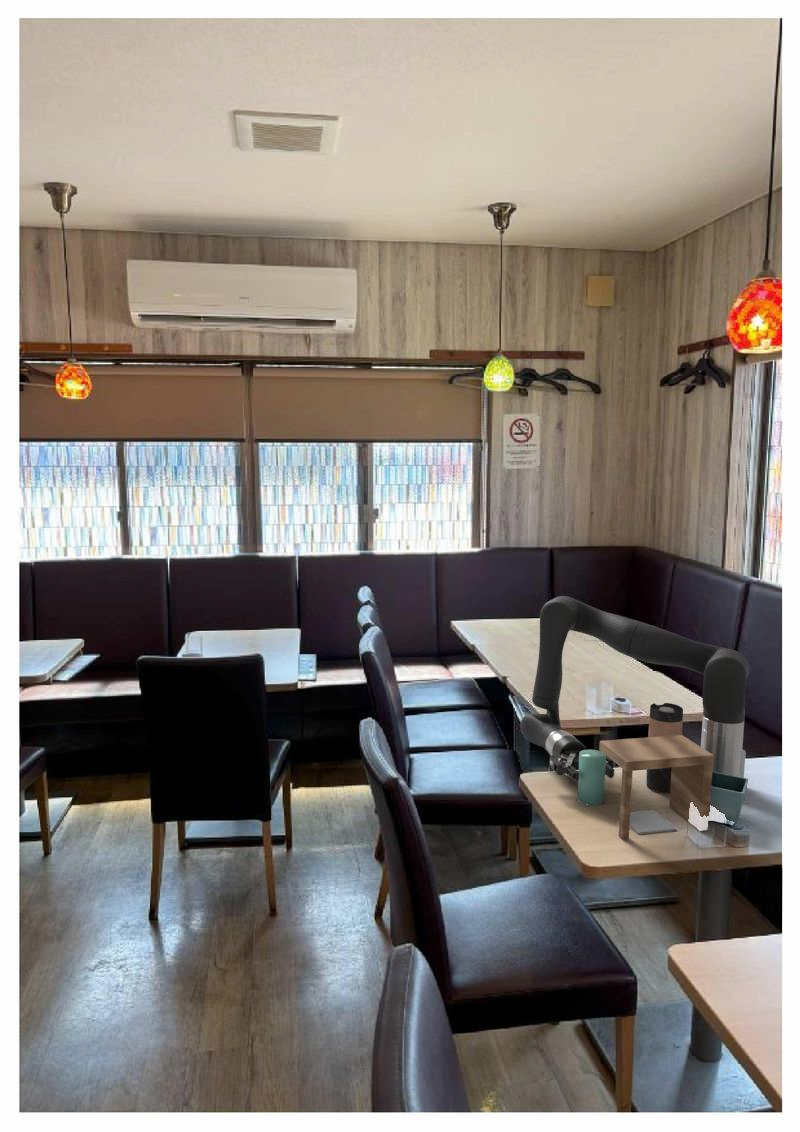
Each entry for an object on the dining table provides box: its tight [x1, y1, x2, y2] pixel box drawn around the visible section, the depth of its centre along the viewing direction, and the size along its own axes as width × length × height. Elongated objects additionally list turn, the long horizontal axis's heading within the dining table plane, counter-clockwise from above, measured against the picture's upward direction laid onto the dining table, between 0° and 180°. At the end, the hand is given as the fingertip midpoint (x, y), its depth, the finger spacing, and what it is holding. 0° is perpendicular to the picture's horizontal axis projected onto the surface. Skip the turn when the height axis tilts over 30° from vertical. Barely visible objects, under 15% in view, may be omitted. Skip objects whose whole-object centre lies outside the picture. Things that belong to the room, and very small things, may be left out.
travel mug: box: [645, 702, 684, 794], centre depth 188 cm, size 8×8×20 cm
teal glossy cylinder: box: [576, 749, 606, 806], centre depth 182 cm, size 6×6×11 cm
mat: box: [617, 809, 678, 835], centre depth 172 cm, size 9×9×1 cm
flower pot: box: [710, 772, 749, 823], centre depth 173 cm, size 9×9×9 cm
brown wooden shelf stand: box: [598, 734, 713, 841], centre depth 171 cm, size 20×12×17 cm, turn 102°
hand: (594, 775), depth 180 cm, fingers open, 8 cm apart
